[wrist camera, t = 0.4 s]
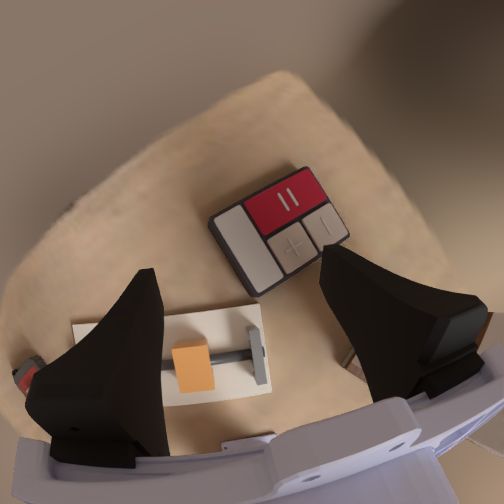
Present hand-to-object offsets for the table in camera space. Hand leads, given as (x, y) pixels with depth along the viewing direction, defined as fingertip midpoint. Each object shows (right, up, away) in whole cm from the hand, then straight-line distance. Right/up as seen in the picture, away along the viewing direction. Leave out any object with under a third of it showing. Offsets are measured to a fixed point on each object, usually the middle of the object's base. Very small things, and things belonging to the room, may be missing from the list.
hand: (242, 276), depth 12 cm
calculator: (+4, +4, +27) cm, 28 cm away
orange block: (-7, -12, +22) cm, 26 cm away
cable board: (-10, -13, +23) cm, 28 cm away
